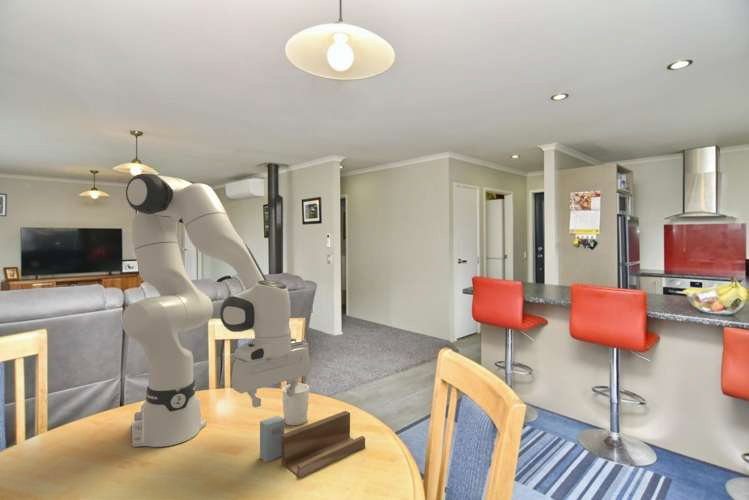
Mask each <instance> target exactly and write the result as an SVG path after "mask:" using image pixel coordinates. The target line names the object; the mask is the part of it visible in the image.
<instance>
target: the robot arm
mask: <svg viewBox="0 0 749 500" xmlns="http://www.w3.org/2000/svg"><path fill="white" fill-rule="evenodd" d="M125 196H126V201H127V203H128V205H129V207H131V209H133V210H134V211H137V213H135V214H134V215H133V217H132V220H131V236H132V237H131V238H132V244H133V251H134V255H135V260H136V265H137V270H138V273H139V274H138V275H139V277H140V279H141V280H142V281H143V282H145V283H147V284H149V285H151V286H152V287H153V288H155V290H157V292H158V294H159V295H160V296H153V297H151V296H150V297H147V298H144V299H141V300H137V301H135V302H133V303H132V302H131V303H130V304H129V305H128V306H127V307H125V309H124V311H123V313H122V318H121V326H122V329H123V332H124V333H125V335H127V336H128V337H129V338H130V339H132V340H133V341H135V342H137V343H138V344H139V345H140V346H141V347H142V349H143V351H144V354H145V356H146V360H147V368H148V371H147V372H148V386H147V388H146V391H145V401H144V402H143V403H142V405H140V411H136V412H134V413H133V414H134V417H133V419H134V421H132V423H131V446H132V447H134V448H135V447H152V448H162V447H163V448H164V447H168V446H169V447H171V446H173V445H177V444H178V445H179V444H181V443H184V442H186V441H189V440H191V439H193V438H194V437H196V435H198V434H199V432H200V431H201V429H203V428H204V427H206V426H207V420H206V419H204V418H202V407H201V399H200V397H198V396H197V395H196V381H195V379H194V355H193V352H192V351H191V350H190V349H188V348H186V347H184V346H182V344H181V342H180V339H179V334H180V333H184V332H188V331H191V330H196V329H197V328H199V327H201V326H203V325H205V324H206V323H209V322H210V320H211V319H212V317H213V315H214V306H213V305H214V304H213V302H212V300H211V298H210V297H209V296H208V295H207V294H206V293H204V292H202V291H201V290H199V289H198V288H197V286H196V285H195V284H194V283H193V281H192V279H191V278H190V276H189V275H188V273H187V270H186V269H185V266H184V261H183V258H182V254H181V250H180V245H179V240H178V237H177V233H176V226H177V224H178V222H179V223H181V224H183V226H184V228H185V232H186V234H187V236H188V239H189V241H190V242H191V244H192V245H193V247H194V248H195V250H197V251H198V252H199V253H201V254H203V255H205V256H207V257H211V258H214V259H217V260H220V261H222V262H224V263H226V264H227V265H229V266H230V267H232V268H233V270H234V271H235V272H236V274H237V275H238V277H239V279H240V282H241V283H242V284H243V286H244V289H245V290H244V291H242V292H238V293H236V294H233V295H231V296H228V297H226V298H224V300H223V302H222V304H221V306H220V309H219V314H220V315H219V316H220V317H219V318H220V321H221V323H222V325H223V326H224V328H226V330H228V331H230V332H232V333H241V332H242V333H243V332H246V331H250V330H252V331H253V332H254V338H253V339H251V340H250V341H248V342H246V343H244V344H242V345H240V346H239V347H237V348H236V349H235V350H234V354H235V357H236V360H235V361H234V363H233V365H232V371H231V372H232V373H231V374H232V375H231V388H232V389H233V390H234V391H236V393H239V394H244V393H247V394H248V396H249V397H250V399H251V406H252V407H253V408H258V407H260V406H262V399H261V398H260V397H258V396H256V394H257V392H258V389H261V388H266V387H270V386H273V385H276V384H281V383H284V382H287V381H290V383H289V384H290V386H289V388H287V389H286V391H287V393H286V394H287V396H289V397H290V396H294V395H295V388H296V386H297V384H298V383H300V382H299V380H300V379H299V378H302V377H305V376H308V375H309V374H310V372H311V370H312V369H311V358H310V353H309V351H310V350H309V349H310V348H309V342H307V341H306V340H304V339H299V340H294V341H293V340H292V330H291V327H290V320H291V314H292V313H291V312H292V311H291V298H290V292H289V289H288V287H287V284H285V283H283V282H281V281H278V280H269V279H267V278H266V276H265V275H264V273H263V271H262V269H261V267H260V266H259V263H258V262H257V259H256V257H254V254H253V253H252V252H251V250H250V248H249V247H248V245H247V244H246V243H245V241H244V240H242V238H241V237H240V236H239V233H237V231H236V229H235V228H234V226H233V224H232V222H231V220H230V219H229V215H228V214H227V212H226V210H225V209H226V208H225V207H224V206H223V204H222V202H221V200H220V198H219V196H218V195H217V194H216V192H215V191H214V190H213V188H212V187H211V186H210V185H207V184H205V183H199V182H198V183H196V182H194V181H187V180H185V179H183V178H179V177H176V176H165V175H157V174H154V173H140V174H136V175H134V176H133V177H132V178H131V179H130V180H129V181H128V183H127V186H126V189H125Z"/></svg>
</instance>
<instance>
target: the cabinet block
mask: <svg viewBox="0 0 749 500" xmlns="http://www.w3.org/2000/svg"><path fill="white" fill-rule="evenodd" d="M284 433H285V422H284V418H283V417H282V416H280V415H275V416H272V417H269V418H266V419H263V420H261V421H259V458H260V459H262V460H263V461H264V462H265V463H268V462H270V461H273V460H275V459H278V458H280V457H282V434H284Z"/></svg>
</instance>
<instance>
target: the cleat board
mask: <svg viewBox="0 0 749 500" xmlns="http://www.w3.org/2000/svg"><path fill="white" fill-rule="evenodd" d="M364 448H366V436H364V435H361V436H359V437H356V438H353V437H351V412H349V411H347V410H343V411H341V412H339V413H335V414H333V415H331V416H328V417H325V418H323V419H320V420H316V421H314V422H312V423H309V424H308V423H307V424H306V425H304V426H300V427H297V428H296V429H293V430H290V431H287V432H284V434H282V456H281V464H282V465H283V466H284V467H286V468H287V469H288V470H289V471H291V472H292V473H293V474H295V475H296V476H297V477H298V478H299V479H301V478H303V477H305V476H307V475H310V474H311V473H313V472H315V471H318V470H319V469H322V468H324V467H326V466H329V465H330V464H332V463H335V462H337V461H338V460H340V459H342V458H345V457H347V456H349V455H351V454H353V453H355V452H358V451H360V450H362V449H364Z"/></svg>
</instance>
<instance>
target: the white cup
mask: <svg viewBox="0 0 749 500" xmlns="http://www.w3.org/2000/svg"><path fill="white" fill-rule="evenodd" d="M290 384H291V383H289V384H286V385H284V386H283V387H282V389H281V390H282V405H283V406H282V408H283V417H284V418H283V419H284V424H286V425H287V426H299V425H304V424H305V423H306V422H307V421H308V410H309V398H310V397H309V396H310V395H309V394H310V386H309V384H306V383H301V382H298V384H297V386H296V388H295V395H294V396H290V397H289V396H287V394H286V393H287V391H286V389H287V388H289V386H290Z"/></svg>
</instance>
